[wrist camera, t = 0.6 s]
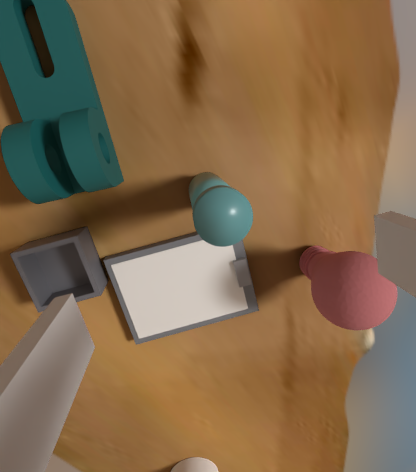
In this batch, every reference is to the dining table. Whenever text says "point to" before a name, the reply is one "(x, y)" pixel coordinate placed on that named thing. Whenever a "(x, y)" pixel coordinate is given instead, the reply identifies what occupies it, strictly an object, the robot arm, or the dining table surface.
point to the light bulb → (348, 287)
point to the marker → (219, 210)
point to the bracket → (53, 108)
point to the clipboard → (180, 285)
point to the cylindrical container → (195, 465)
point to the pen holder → (61, 267)
